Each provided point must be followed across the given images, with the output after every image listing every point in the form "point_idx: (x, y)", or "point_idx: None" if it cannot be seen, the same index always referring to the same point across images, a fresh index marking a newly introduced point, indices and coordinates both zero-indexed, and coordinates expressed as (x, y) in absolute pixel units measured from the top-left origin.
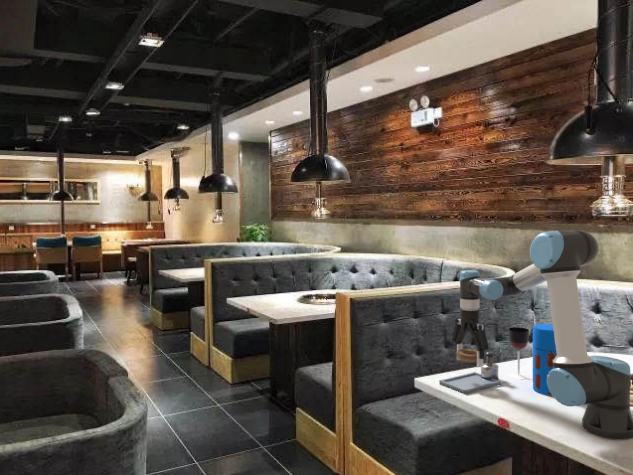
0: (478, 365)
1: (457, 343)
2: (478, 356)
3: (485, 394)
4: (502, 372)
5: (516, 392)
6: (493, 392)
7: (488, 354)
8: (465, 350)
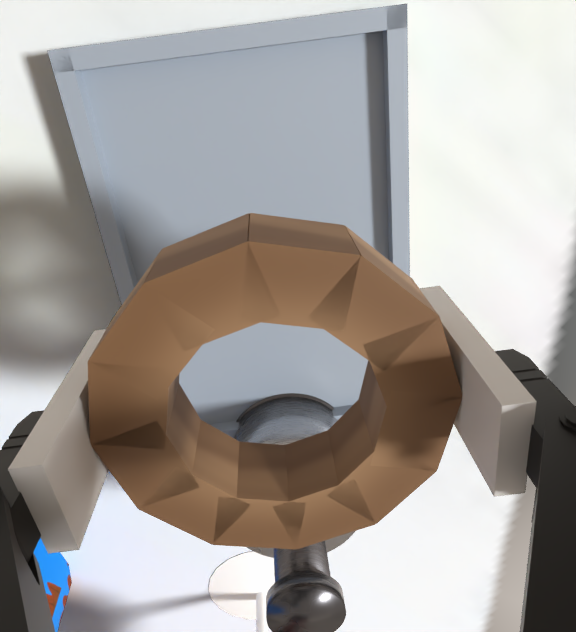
0: (89, 343)
1: (545, 425)
2: (49, 412)
3: (19, 221)
4: (359, 559)
5: (6, 428)
6: (45, 302)
7: (285, 588)
8: (391, 429)
